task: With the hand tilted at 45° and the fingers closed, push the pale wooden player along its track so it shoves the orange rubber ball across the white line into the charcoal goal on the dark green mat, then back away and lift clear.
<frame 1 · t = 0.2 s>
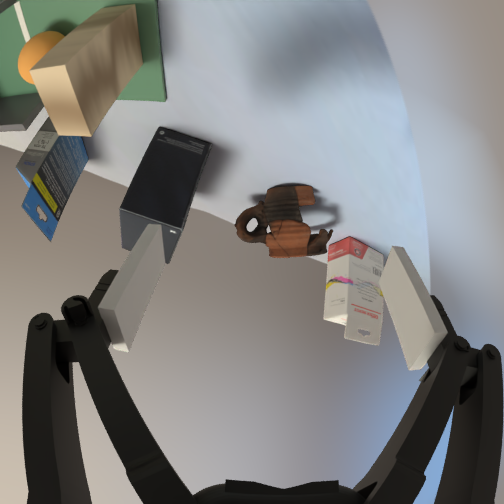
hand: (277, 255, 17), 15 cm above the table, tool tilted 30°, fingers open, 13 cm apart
player: (94, 64, 16), point 5 cm above the table, slide at 0.0 cm
ink cartridge box: (356, 248, 46), on the table
pottery mug: (287, 203, 38), on the table
small box: (176, 160, 34), on the table
pitch: (47, 43, 18), on the table
ball: (59, 42, 18), resting on pitch
label tape cartridge: (71, 135, 31), on the table
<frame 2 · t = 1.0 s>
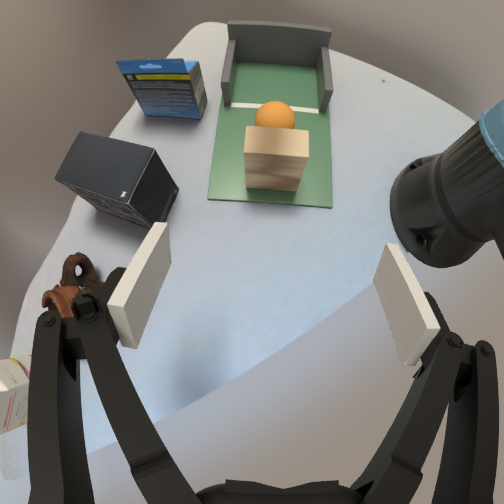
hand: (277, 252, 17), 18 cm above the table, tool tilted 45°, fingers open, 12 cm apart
player: (274, 161, 32), point 5 cm above the table, slide at 0.0 cm
ink cartridge box: (44, 383, 32), on the table
pottery mug: (92, 304, 34), on the table
small box: (136, 198, 37), on the table
pitch: (274, 120, 38), on the table
ball: (274, 130, 37), resting on pitch
label tape cartridge: (175, 108, 39), on the table
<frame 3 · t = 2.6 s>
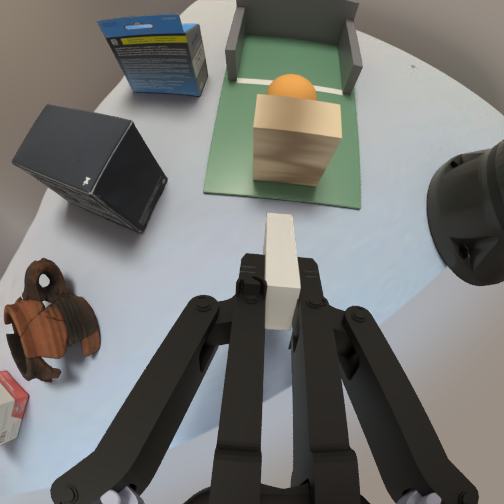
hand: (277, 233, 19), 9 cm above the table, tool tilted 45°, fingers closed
player: (291, 145, 24), point 5 cm above the table, slide at 0.0 cm
ink cartridge box: (11, 404, 24), on the table
pottery mug: (63, 321, 26), on the table
small box: (115, 189, 29), on the table
pitch: (289, 100, 30), on the table
ball: (289, 111, 29), resting on pitch
label tape cartridge: (170, 83, 31), on the table
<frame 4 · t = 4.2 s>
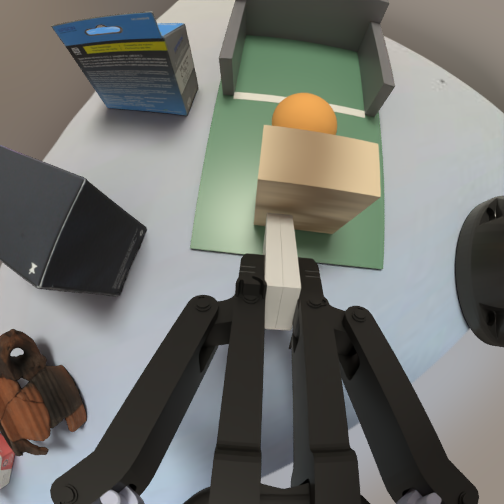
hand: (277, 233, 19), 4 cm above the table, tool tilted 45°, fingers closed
player: (306, 190, 18), point 5 cm above the table, slide at 0.7 cm, touching gripper
pottery mug: (45, 387, 21), on the table
small box: (86, 237, 23), on the table
pitch: (299, 122, 25), on the table
ball: (299, 139, 24), resting on pitch
label tape cartridge: (151, 97, 25), on the table
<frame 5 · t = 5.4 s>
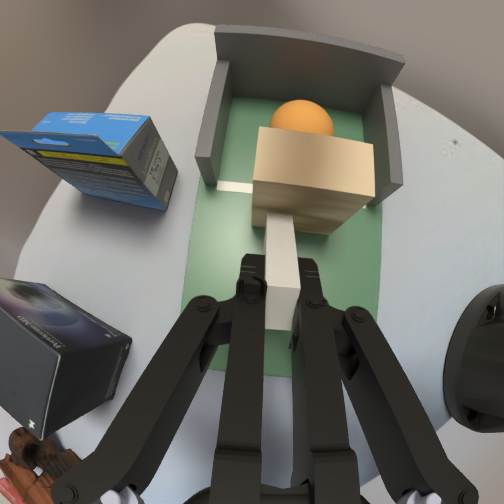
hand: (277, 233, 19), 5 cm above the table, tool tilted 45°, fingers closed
player: (302, 190, 19), point 5 cm above the table, slide at 9.5 cm, touching gripper
ink cartridge box: (14, 501, 18), on the table
pottery mug: (56, 462, 20), on the table
small box: (75, 338, 22), on the table
pitch: (291, 219, 24), on the table
ball: (306, 109, 19), point 5 cm above the table, tilted 172°, touching pitch
label tape cartridge: (127, 182, 24), on the table
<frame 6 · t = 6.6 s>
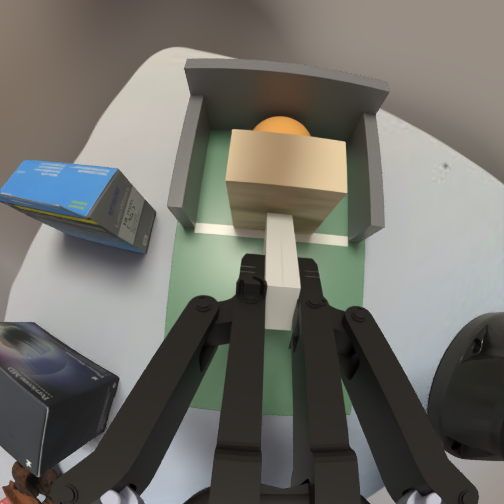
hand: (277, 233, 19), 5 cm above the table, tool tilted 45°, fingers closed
player: (280, 191, 19), point 5 cm above the table, slide at 12.7 cm, touching gripper
pottery mug: (58, 487, 19), on the table
small box: (66, 375, 22), on the table
pitch: (270, 260, 23), on the table
ball: (283, 116, 21), point 4 cm above the table, tilted 130°, touching pitch
label tape cartridge: (108, 223, 24), on the table
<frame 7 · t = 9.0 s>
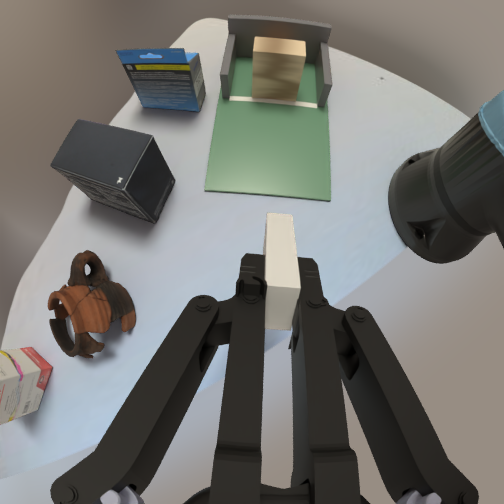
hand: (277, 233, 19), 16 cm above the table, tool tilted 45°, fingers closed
player: (276, 70, 33), point 5 cm above the table, slide at 12.7 cm
ink cartridge box: (34, 379, 31), on the table
pottery mug: (100, 306, 33), on the table
small box: (132, 189, 36), on the table
pitch: (272, 113, 38), on the table
label tape cartridge: (174, 100, 38), on the table
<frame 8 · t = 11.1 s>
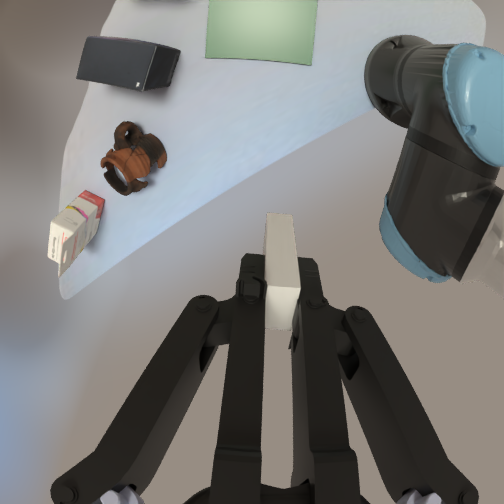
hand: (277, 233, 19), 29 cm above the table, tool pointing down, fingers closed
ink cartridge box: (91, 211, 52), on the table
pottery mug: (139, 150, 45), on the table
small box: (145, 60, 37), on the table
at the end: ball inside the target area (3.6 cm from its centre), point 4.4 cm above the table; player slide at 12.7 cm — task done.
